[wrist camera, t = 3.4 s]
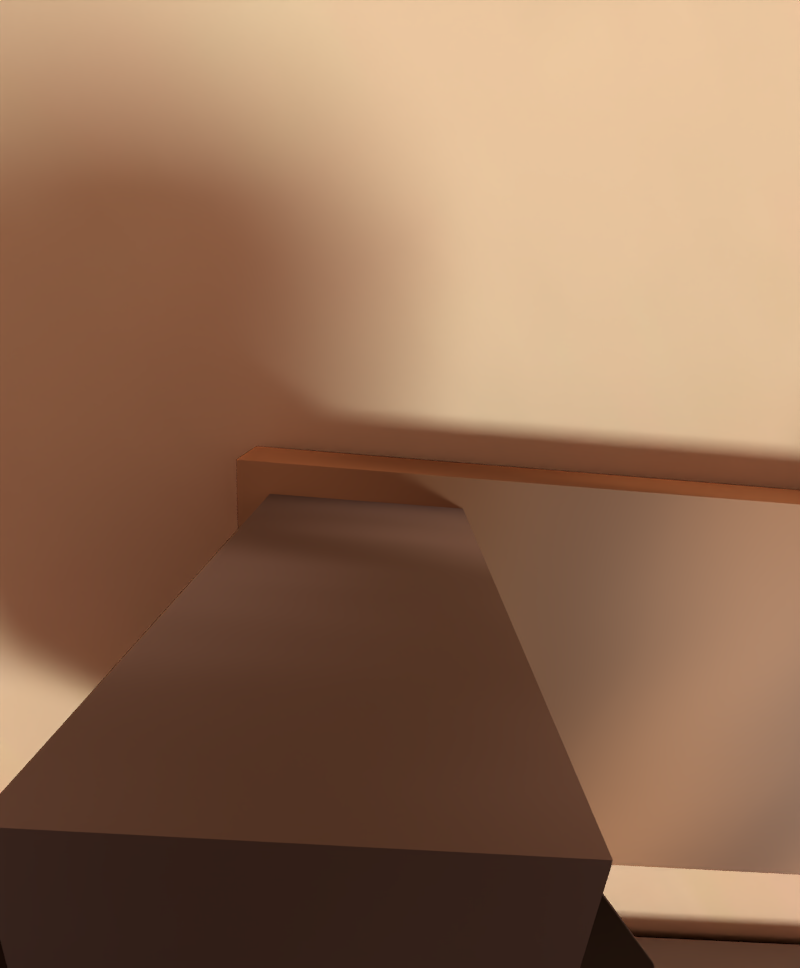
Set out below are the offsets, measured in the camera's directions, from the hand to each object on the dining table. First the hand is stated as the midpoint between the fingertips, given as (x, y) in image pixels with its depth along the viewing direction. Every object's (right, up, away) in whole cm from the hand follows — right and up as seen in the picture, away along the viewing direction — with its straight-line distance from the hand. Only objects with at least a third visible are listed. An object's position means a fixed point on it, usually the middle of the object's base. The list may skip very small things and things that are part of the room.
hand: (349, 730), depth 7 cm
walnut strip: (+9, 0, +2) cm, 9 cm away
